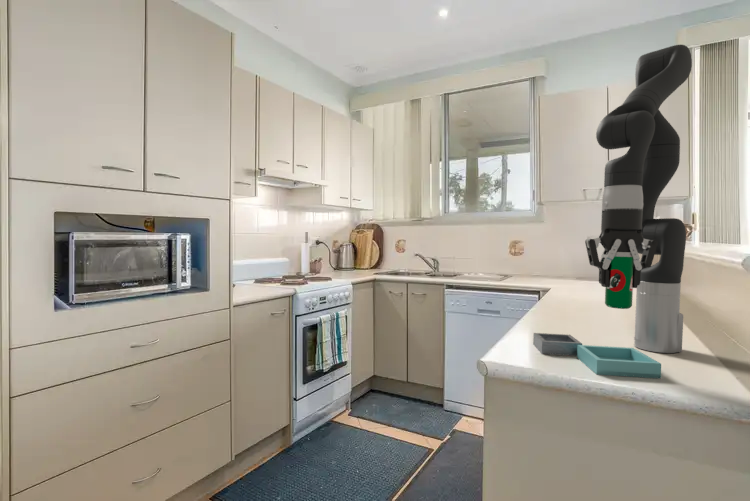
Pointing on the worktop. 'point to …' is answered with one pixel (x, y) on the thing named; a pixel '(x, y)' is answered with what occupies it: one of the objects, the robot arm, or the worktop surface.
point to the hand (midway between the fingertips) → (618, 286)
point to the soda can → (620, 281)
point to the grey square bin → (556, 344)
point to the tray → (618, 361)
